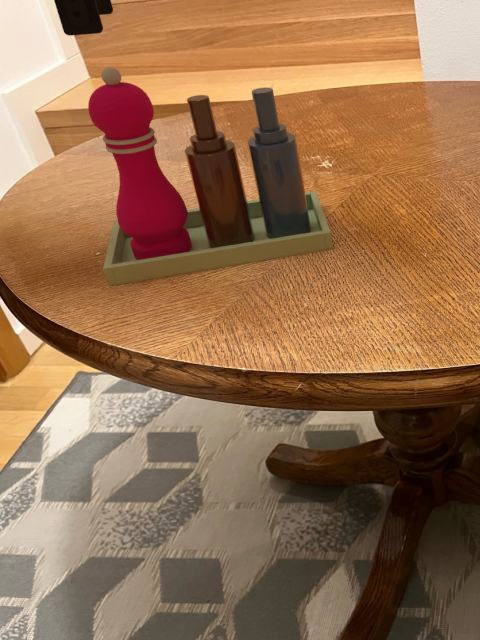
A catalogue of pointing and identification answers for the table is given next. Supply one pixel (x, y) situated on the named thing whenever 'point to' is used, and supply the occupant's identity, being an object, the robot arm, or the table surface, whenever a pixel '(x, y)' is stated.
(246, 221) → the brown bottle
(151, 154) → the pepper mill
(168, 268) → the tray
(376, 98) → the table surface
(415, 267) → the table surface
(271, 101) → the blue bottle
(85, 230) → the table surface
